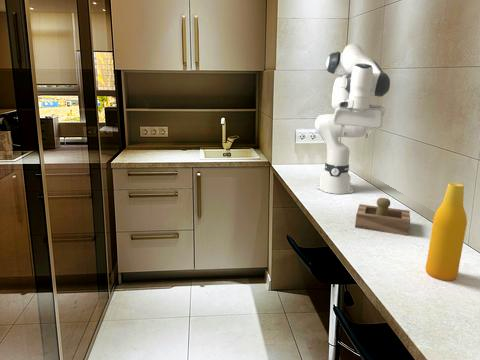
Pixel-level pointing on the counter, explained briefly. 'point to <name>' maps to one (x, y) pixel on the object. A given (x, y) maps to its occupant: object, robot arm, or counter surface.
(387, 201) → the cork
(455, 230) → the beer bottle
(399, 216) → the well block
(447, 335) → the counter surface
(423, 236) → the counter surface
